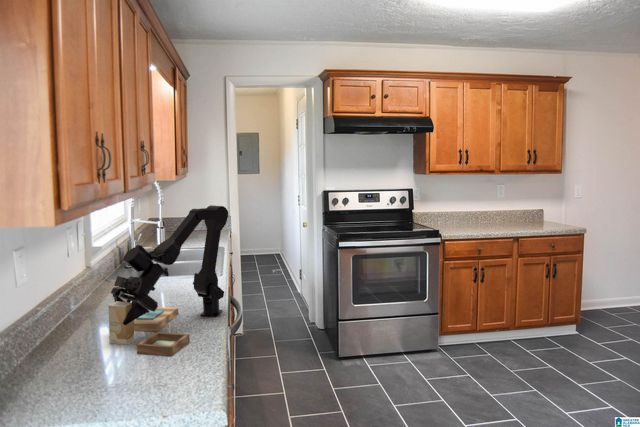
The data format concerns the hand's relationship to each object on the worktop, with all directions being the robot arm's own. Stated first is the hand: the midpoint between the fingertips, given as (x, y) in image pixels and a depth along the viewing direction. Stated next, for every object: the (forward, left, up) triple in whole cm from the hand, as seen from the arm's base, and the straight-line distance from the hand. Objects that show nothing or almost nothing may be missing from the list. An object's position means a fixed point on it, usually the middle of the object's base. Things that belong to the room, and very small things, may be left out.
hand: (117, 322), depth 157 cm
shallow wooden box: (-20, +2, -7) cm, 21 cm away
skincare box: (-1, +1, -7) cm, 7 cm away
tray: (+3, +16, -7) cm, 17 cm away
